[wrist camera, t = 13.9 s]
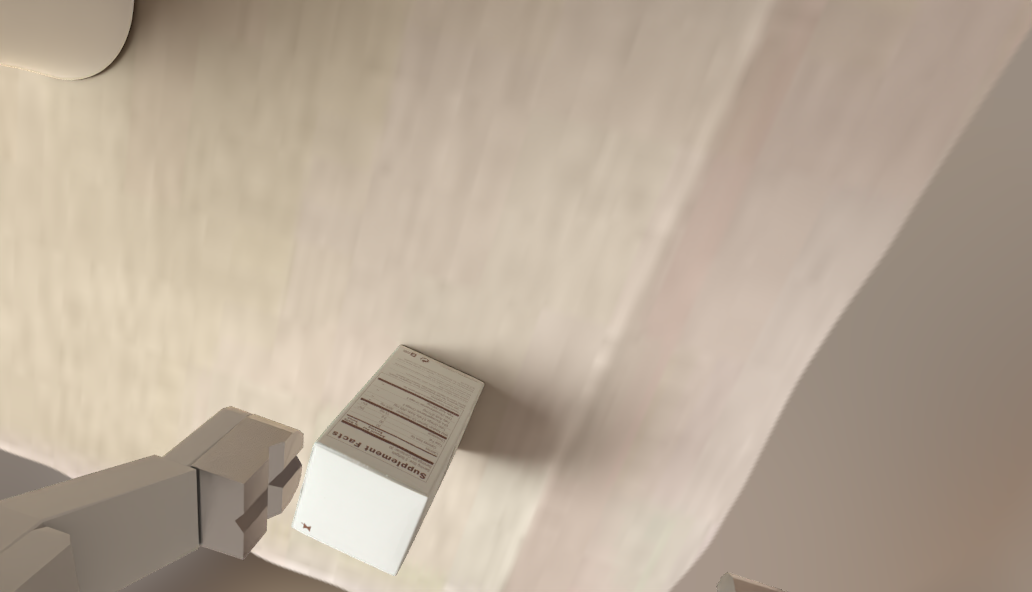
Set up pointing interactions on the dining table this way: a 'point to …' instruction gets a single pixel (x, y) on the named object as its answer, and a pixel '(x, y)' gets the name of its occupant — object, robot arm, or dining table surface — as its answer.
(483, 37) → the dining table surface
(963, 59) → the dining table surface
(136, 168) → the dining table surface
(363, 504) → the supplement box
